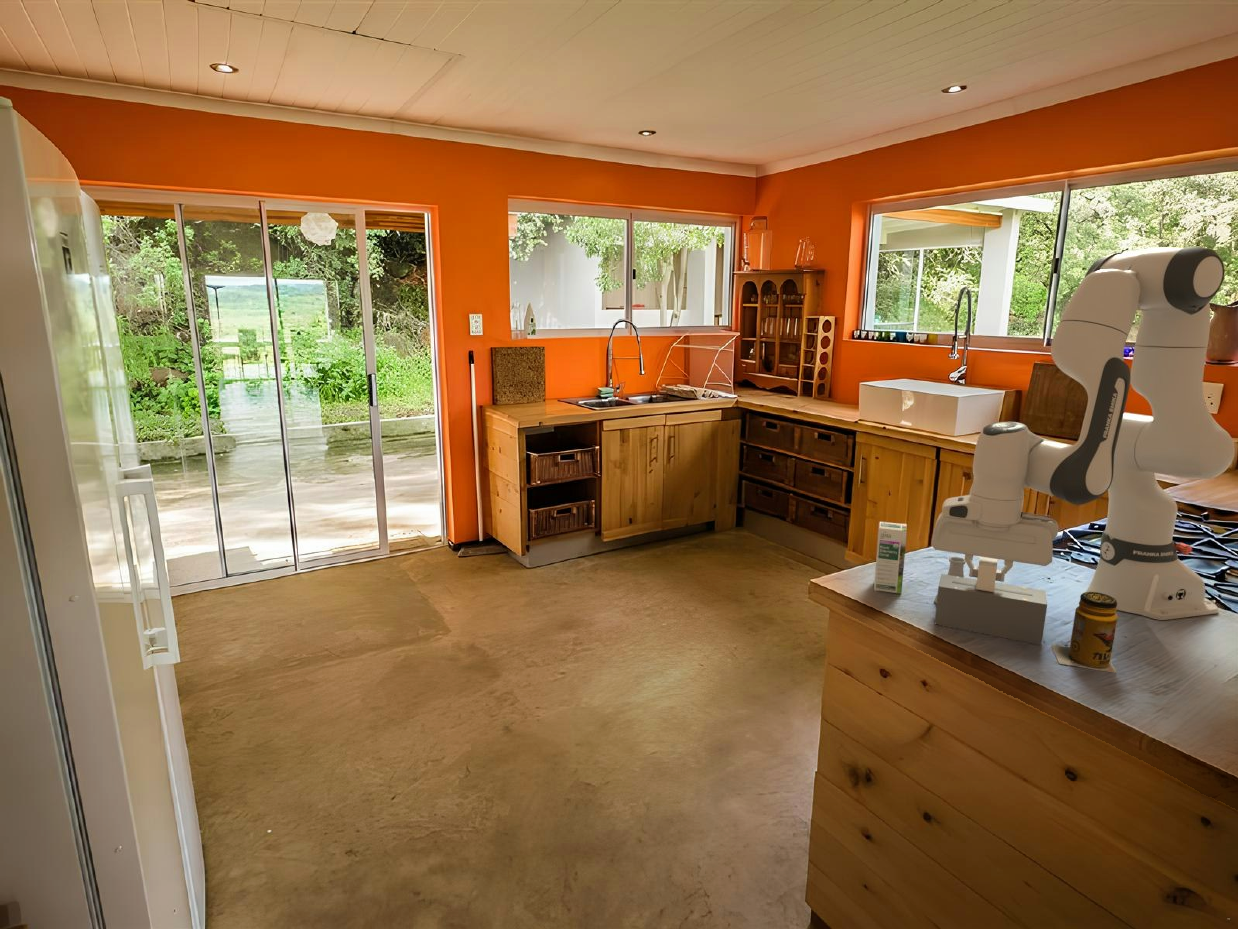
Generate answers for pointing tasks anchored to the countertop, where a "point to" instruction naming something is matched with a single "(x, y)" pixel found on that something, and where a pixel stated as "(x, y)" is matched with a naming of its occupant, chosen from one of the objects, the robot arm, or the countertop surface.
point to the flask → (955, 568)
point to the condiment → (1091, 633)
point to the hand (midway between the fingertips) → (986, 578)
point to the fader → (986, 574)
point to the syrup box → (890, 557)
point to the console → (992, 609)
